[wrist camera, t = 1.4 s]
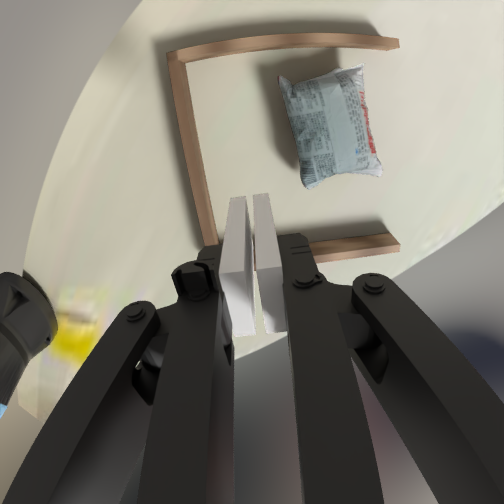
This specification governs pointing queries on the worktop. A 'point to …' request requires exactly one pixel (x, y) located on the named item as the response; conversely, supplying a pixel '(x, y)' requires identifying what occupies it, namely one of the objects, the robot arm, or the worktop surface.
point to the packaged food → (331, 125)
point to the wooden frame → (188, 131)
